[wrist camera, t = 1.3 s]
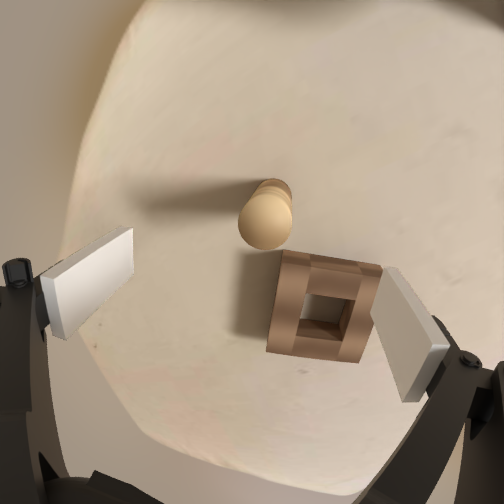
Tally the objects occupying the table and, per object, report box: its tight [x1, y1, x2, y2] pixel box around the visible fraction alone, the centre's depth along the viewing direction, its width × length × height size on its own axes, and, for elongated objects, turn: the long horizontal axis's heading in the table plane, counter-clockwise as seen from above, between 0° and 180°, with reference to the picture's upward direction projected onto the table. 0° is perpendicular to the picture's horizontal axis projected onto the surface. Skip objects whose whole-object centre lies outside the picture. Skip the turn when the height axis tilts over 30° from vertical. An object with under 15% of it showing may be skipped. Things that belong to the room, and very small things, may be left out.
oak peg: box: [238, 179, 292, 250], centre depth 29 cm, size 4×4×12 cm
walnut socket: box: [266, 250, 383, 363], centre depth 36 cm, size 12×12×4 cm
